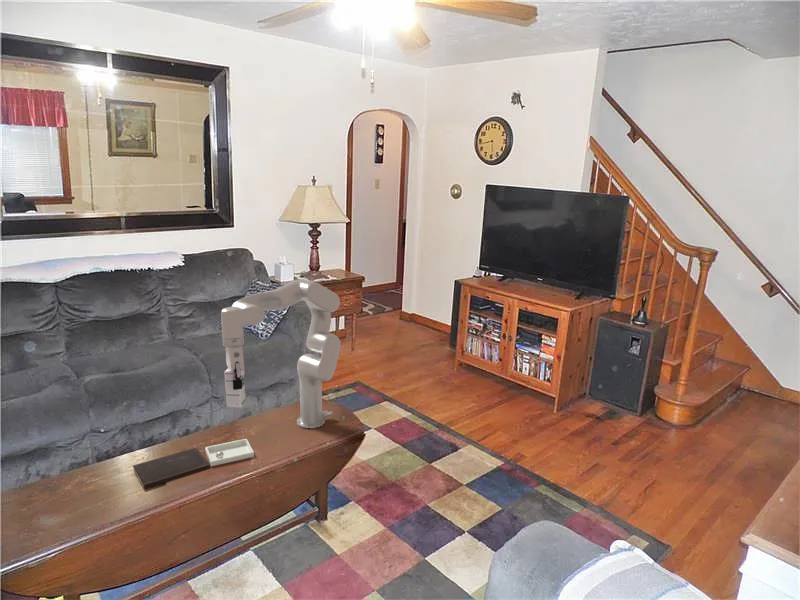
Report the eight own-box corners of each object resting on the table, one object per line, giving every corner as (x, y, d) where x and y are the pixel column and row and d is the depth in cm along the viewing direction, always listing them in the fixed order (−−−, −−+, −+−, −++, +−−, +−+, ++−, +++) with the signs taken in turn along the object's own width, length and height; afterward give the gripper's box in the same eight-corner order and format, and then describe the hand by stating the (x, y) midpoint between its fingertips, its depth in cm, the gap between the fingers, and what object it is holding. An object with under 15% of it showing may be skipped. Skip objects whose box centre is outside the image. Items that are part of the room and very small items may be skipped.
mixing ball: (223, 456, 209) (222, 449, 208) (224, 459, 206) (224, 452, 205) (215, 457, 207) (214, 450, 206) (216, 461, 205) (216, 454, 204)
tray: (246, 444, 219) (246, 438, 219) (254, 457, 209) (253, 452, 208) (205, 452, 212) (205, 447, 211) (211, 467, 201) (210, 461, 201)
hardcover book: (133, 471, 199) (132, 465, 198) (196, 452, 213) (196, 447, 212) (144, 491, 187) (143, 485, 186) (210, 470, 201) (210, 464, 200)
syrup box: (241, 407, 202) (239, 371, 198) (226, 407, 202) (224, 371, 199) (246, 401, 208) (244, 366, 204) (231, 400, 208) (229, 365, 204)
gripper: (248, 346, 193) (250, 392, 197) (238, 332, 208) (240, 375, 212) (227, 349, 190) (229, 395, 194) (218, 335, 204) (220, 378, 209)
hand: (235, 384), depth 203 cm, fingers closed on syrup box, 7 cm apart
